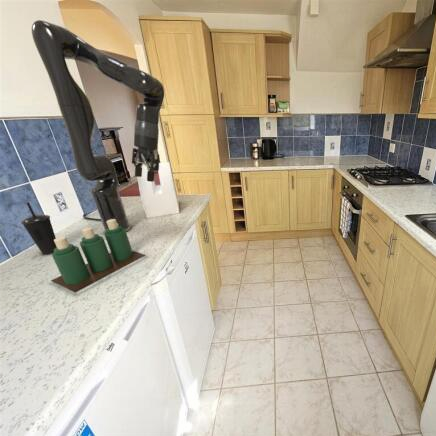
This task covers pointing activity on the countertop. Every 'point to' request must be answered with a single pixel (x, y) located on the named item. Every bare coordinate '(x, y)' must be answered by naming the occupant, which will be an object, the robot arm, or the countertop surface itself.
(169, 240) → the countertop surface
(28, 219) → the drinking cup
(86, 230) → the middle bottle
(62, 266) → the near bottle
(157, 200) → the white tall block
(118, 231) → the green bottle
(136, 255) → the serving board
